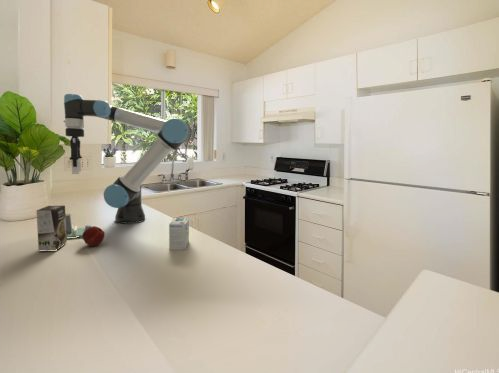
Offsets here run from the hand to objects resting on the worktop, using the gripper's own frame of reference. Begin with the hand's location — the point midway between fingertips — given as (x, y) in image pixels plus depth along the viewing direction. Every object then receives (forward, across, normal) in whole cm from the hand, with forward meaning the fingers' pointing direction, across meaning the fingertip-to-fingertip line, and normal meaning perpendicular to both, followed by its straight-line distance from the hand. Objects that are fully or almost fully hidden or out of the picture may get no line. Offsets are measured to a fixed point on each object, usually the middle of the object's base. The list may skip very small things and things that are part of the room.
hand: (76, 172), depth 135 cm
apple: (+27, +33, +7) cm, 43 cm away
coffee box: (+27, +31, -6) cm, 41 cm away
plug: (+25, +15, -4) cm, 30 cm away
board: (+27, +15, 0) cm, 31 cm away
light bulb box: (+27, +46, +39) cm, 66 cm away
